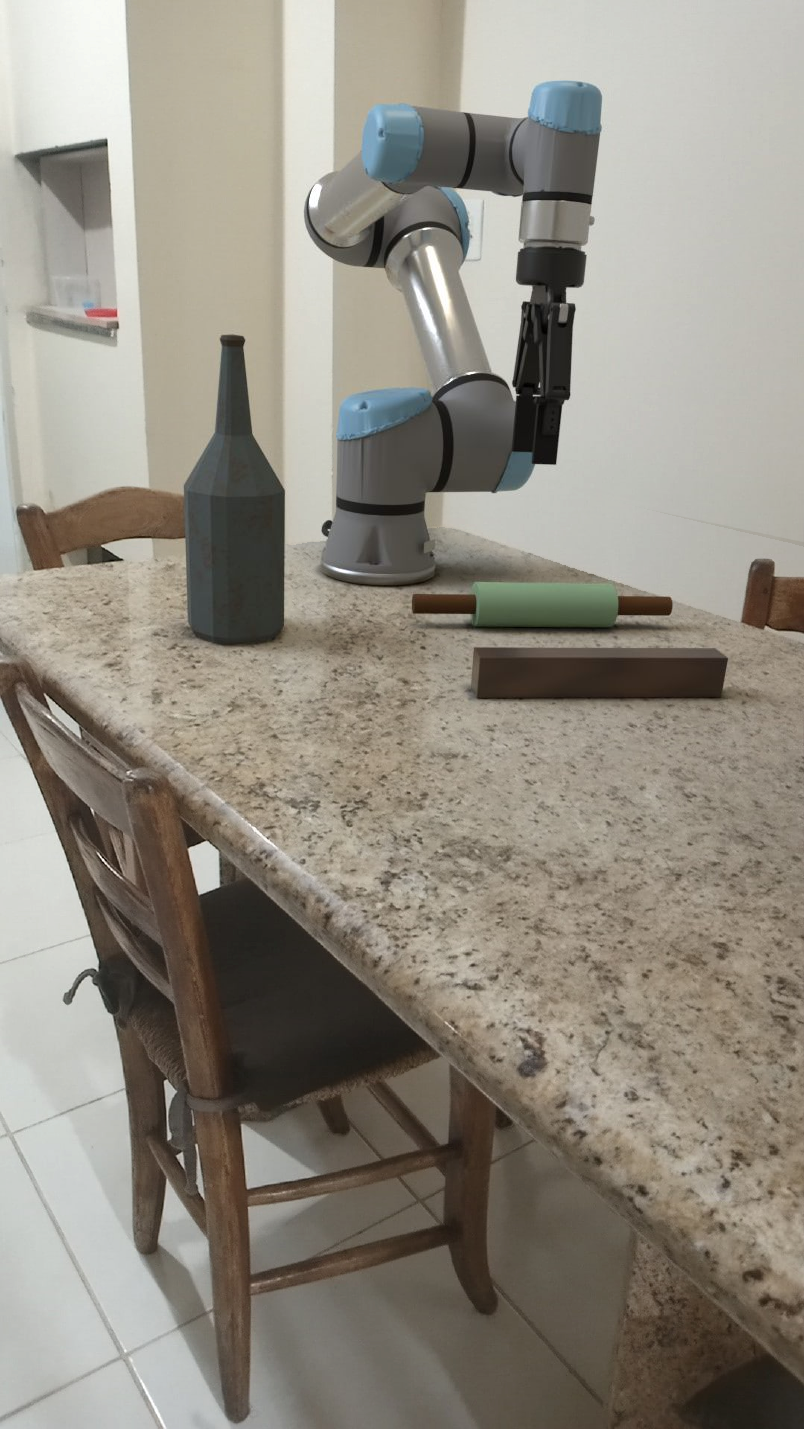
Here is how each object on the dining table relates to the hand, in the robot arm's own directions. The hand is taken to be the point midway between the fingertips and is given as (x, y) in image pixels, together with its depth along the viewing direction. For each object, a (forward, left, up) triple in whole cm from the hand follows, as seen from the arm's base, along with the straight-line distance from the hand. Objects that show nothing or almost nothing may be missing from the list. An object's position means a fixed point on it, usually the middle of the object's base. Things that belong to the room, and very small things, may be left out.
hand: (533, 457), depth 120 cm
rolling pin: (+7, -5, -16) cm, 18 cm away
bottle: (-8, -36, -18) cm, 41 cm away
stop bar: (+26, -18, -17) cm, 36 cm away
